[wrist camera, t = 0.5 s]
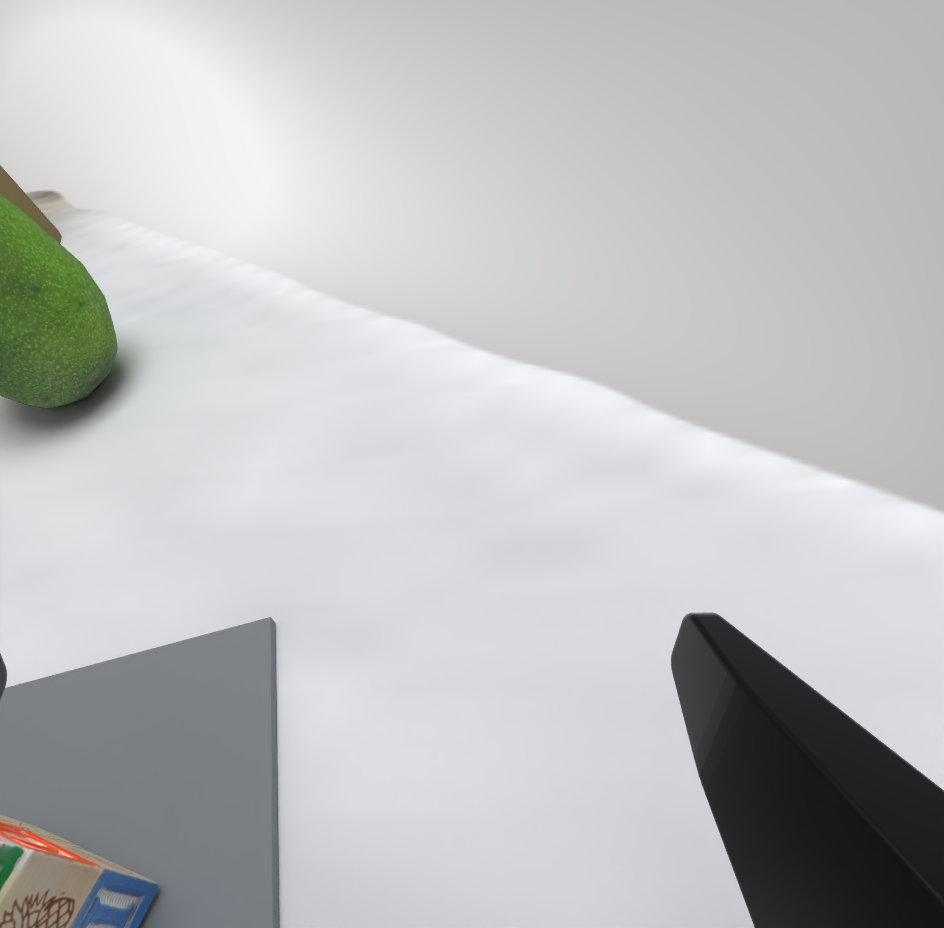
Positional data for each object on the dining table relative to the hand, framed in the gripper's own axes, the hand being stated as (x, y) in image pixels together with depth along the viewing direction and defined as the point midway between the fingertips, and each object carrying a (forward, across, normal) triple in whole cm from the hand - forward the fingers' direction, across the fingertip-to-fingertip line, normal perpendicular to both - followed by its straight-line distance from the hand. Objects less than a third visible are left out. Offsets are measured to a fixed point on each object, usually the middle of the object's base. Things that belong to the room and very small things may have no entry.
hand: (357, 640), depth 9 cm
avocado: (+31, +18, +12) cm, 38 cm away
